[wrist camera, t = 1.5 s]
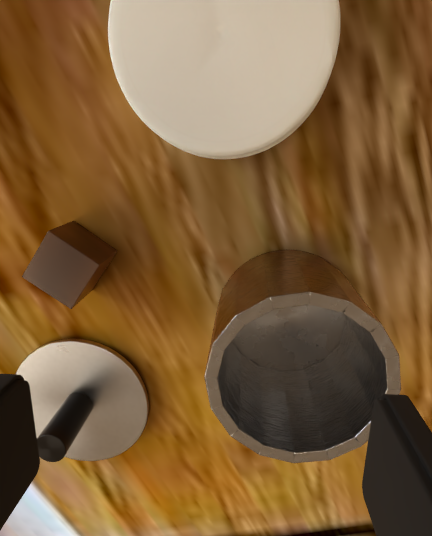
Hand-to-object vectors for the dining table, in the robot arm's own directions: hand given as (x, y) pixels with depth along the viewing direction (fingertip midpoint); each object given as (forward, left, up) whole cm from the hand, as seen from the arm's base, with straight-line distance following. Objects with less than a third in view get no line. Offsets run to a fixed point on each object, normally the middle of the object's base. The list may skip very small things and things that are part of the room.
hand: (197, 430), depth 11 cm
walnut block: (-9, -8, -23) cm, 26 cm away
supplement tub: (-7, +10, -23) cm, 26 cm away
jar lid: (-2, -20, -23) cm, 31 cm away
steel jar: (+7, -2, -23) cm, 25 cm away
